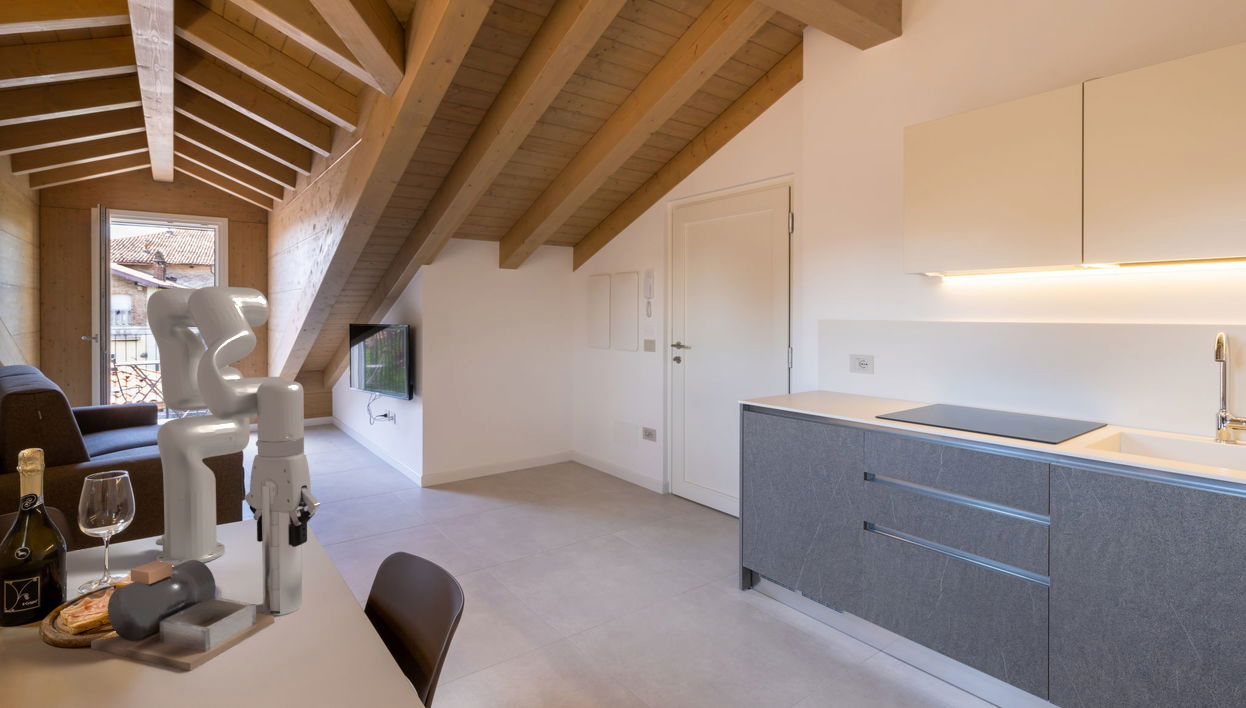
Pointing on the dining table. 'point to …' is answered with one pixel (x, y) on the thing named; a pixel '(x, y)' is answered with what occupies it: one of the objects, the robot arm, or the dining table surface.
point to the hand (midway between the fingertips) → (282, 541)
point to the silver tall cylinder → (279, 559)
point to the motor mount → (176, 616)
